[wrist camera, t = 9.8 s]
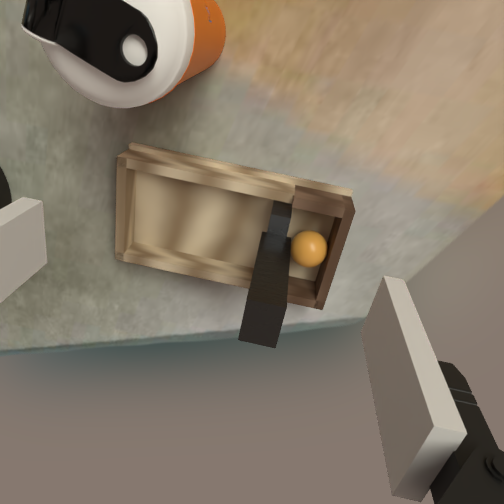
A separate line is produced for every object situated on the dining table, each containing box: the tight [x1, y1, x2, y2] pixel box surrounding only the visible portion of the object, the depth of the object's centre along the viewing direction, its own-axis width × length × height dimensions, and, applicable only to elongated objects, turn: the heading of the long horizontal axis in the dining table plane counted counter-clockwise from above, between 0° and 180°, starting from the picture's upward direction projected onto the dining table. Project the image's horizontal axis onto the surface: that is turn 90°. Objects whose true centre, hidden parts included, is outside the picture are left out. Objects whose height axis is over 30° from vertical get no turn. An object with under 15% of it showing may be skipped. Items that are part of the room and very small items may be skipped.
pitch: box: [115, 142, 355, 310], centre depth 44 cm, size 24×13×5 cm, turn 80°
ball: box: [291, 230, 328, 267], centre depth 43 cm, size 4×4×4 cm
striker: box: [238, 200, 292, 348], centre depth 38 cm, size 3×8×16 cm, turn 170°
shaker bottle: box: [21, 0, 226, 108], centre depth 29 cm, size 9×9×20 cm
